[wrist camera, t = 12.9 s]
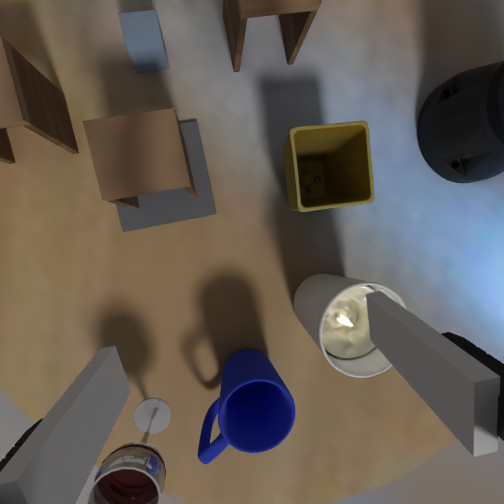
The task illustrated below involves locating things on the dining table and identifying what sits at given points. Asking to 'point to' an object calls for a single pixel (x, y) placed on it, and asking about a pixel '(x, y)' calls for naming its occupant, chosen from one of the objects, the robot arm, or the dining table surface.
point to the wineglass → (134, 463)
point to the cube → (144, 40)
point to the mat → (175, 192)
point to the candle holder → (342, 321)
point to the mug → (248, 408)
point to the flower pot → (328, 166)
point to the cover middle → (139, 156)
